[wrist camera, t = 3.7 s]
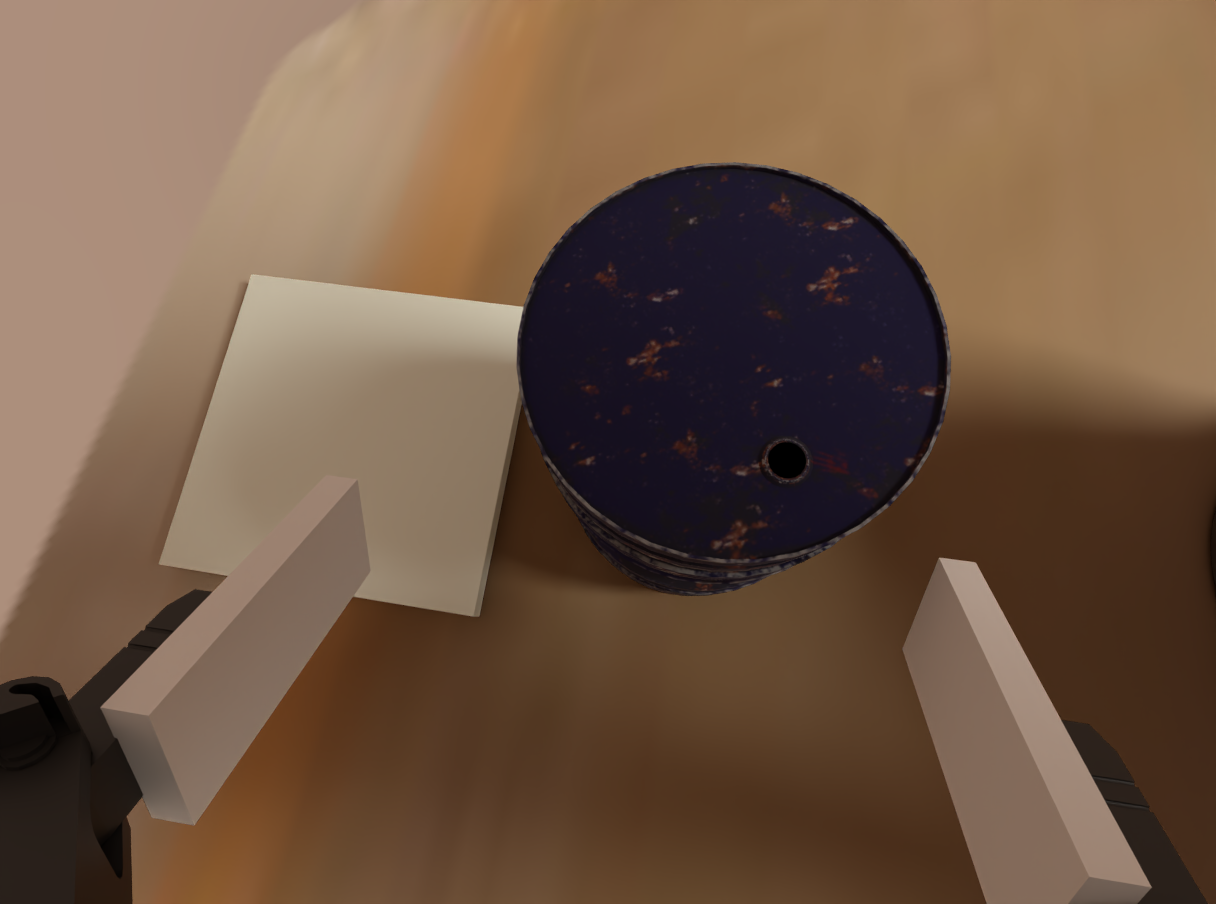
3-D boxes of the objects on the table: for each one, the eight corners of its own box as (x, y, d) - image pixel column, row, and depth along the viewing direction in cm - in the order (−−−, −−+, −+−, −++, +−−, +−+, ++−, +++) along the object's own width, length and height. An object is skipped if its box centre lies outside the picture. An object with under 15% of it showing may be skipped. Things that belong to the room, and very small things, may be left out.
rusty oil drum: (543, 427, 30) (451, 247, 16) (739, 346, 31) (824, 100, 16) (629, 637, 28) (612, 648, 13) (841, 545, 28) (1047, 460, 14)
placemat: (538, 318, 32) (535, 308, 31) (479, 616, 28) (473, 616, 27) (263, 284, 33) (251, 274, 32) (174, 566, 30) (158, 564, 29)
